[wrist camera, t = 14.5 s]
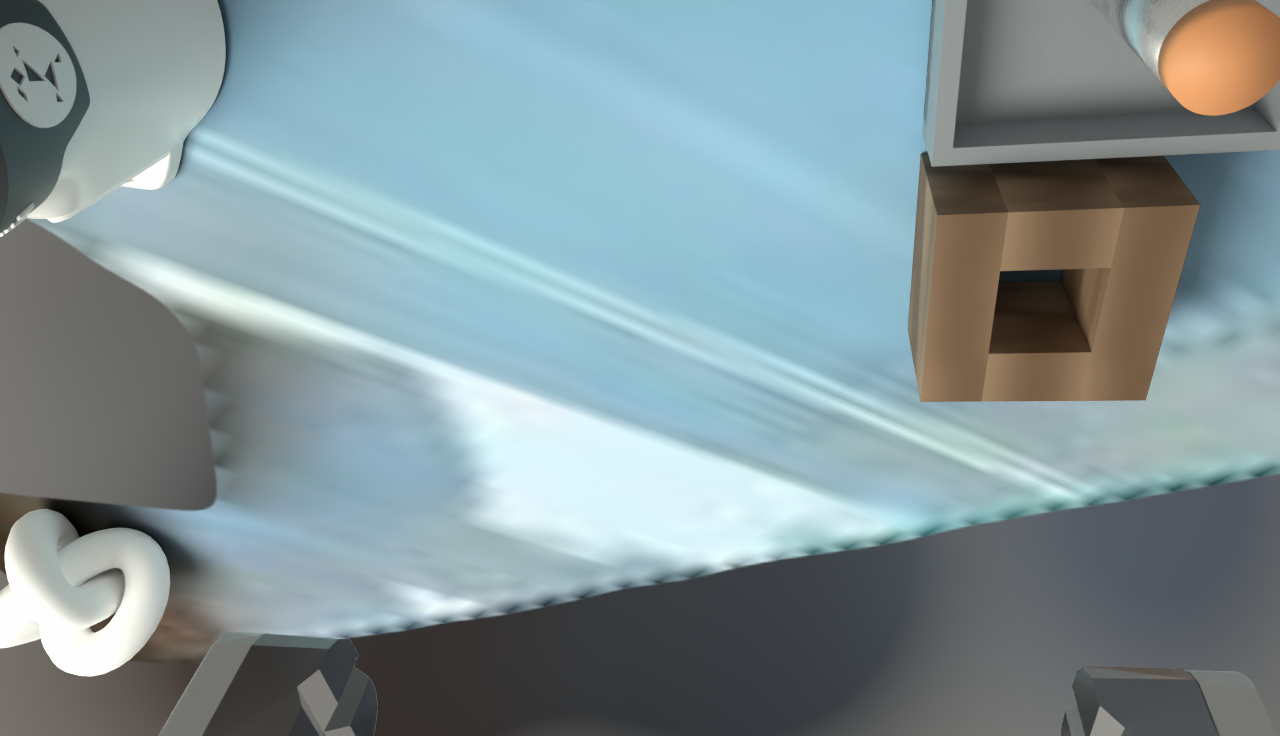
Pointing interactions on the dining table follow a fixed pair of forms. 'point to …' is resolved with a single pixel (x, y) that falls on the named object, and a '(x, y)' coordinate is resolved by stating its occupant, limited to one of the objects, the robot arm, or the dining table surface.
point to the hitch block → (1045, 310)
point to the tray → (1062, 91)
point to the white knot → (81, 591)
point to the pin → (1202, 48)
